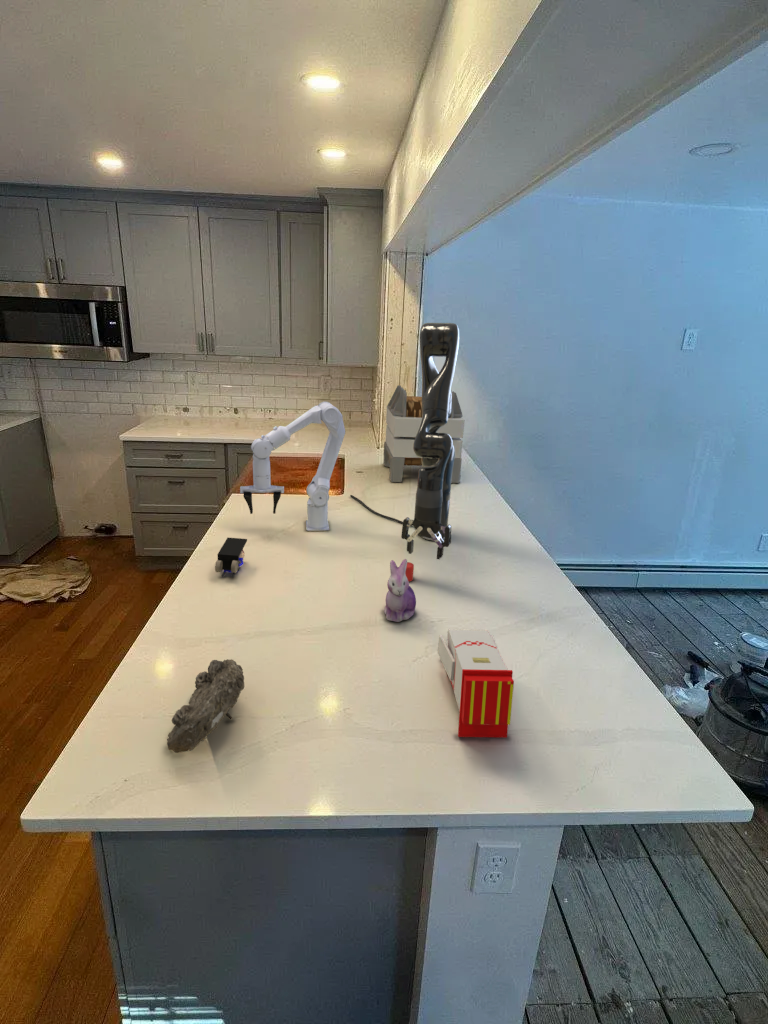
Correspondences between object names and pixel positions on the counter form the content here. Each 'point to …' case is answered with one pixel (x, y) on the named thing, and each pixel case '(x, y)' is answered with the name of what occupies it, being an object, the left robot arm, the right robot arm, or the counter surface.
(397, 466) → the grey storage crate
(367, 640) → the counter surface
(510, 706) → the toy
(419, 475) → the right robot arm
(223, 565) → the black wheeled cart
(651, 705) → the counter surface
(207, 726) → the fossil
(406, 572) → the canister
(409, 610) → the figurine
